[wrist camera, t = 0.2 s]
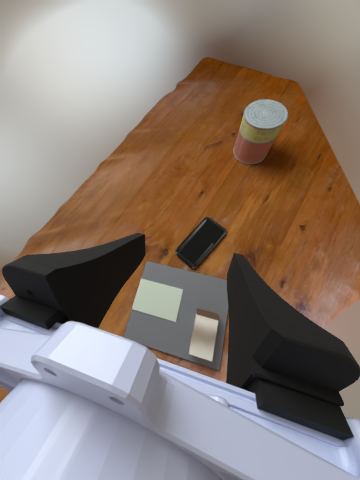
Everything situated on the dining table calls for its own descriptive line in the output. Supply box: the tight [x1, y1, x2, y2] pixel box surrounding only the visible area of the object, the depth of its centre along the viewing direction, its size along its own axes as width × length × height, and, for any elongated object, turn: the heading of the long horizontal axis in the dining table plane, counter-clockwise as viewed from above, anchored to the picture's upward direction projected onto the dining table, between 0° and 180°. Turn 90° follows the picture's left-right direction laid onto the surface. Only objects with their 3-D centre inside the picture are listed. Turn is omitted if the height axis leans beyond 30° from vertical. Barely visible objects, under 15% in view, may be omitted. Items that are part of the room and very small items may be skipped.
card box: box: [189, 308, 219, 361], centre depth 35 cm, size 9×5×4 cm, turn 166°
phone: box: [175, 217, 226, 269], centre depth 44 cm, size 8×1×15 cm
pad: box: [132, 279, 183, 322], centre depth 39 cm, size 12×8×1 cm, turn 76°
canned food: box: [233, 99, 288, 164], centre depth 46 cm, size 11×11×12 cm
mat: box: [123, 261, 228, 370], centre depth 39 cm, size 20×24×1 cm
